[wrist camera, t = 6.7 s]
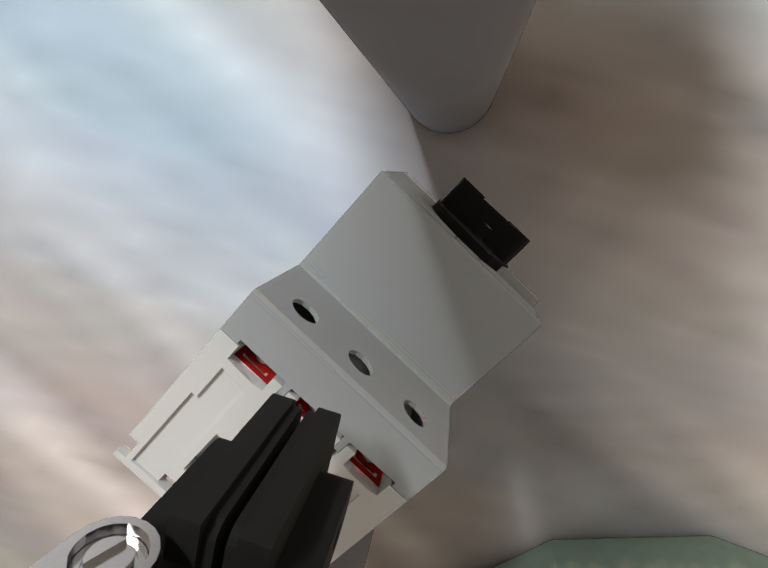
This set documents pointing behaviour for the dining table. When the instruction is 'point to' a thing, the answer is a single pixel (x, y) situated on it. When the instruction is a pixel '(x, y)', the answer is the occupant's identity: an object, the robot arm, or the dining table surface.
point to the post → (437, 51)
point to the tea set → (639, 554)
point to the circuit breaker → (359, 345)
